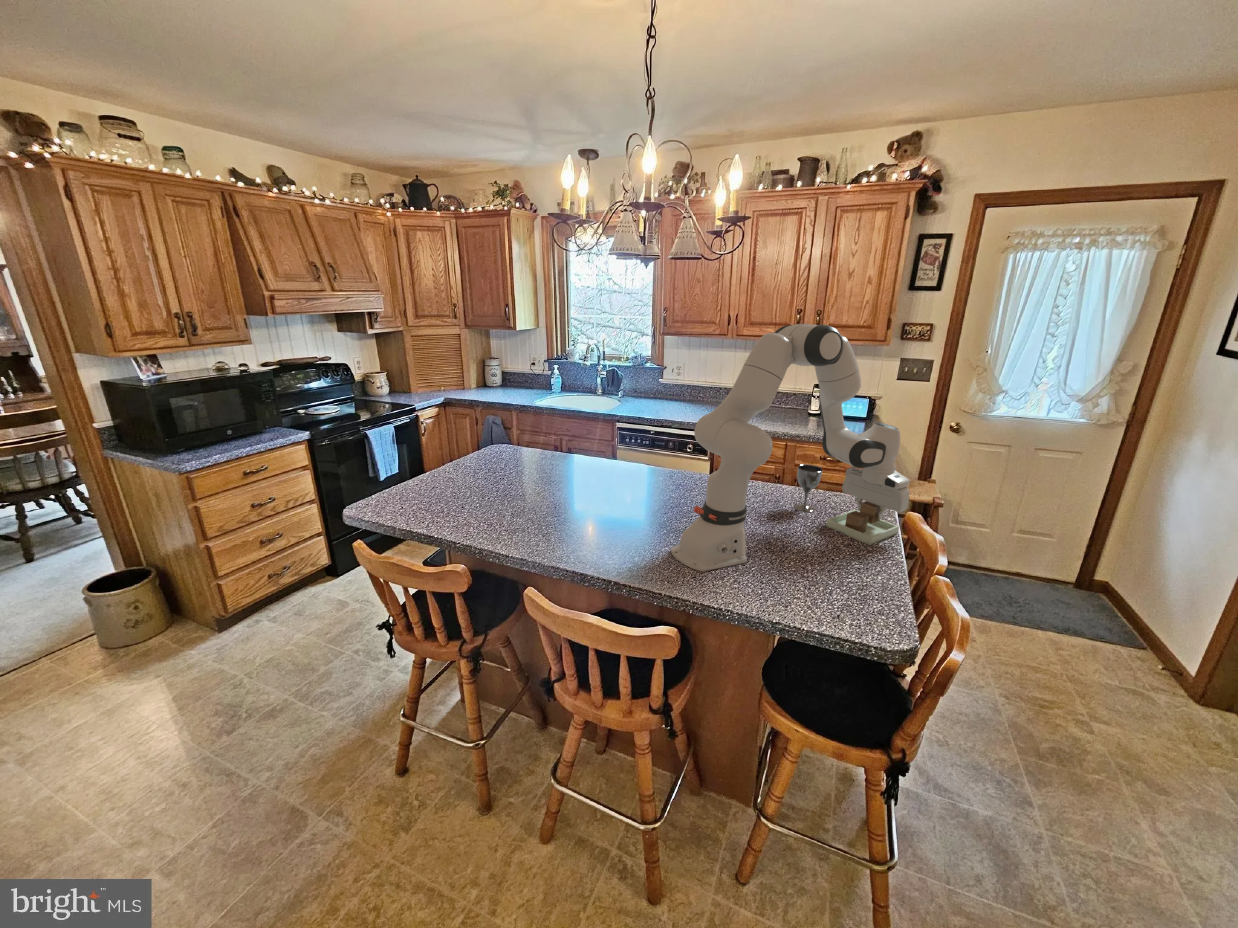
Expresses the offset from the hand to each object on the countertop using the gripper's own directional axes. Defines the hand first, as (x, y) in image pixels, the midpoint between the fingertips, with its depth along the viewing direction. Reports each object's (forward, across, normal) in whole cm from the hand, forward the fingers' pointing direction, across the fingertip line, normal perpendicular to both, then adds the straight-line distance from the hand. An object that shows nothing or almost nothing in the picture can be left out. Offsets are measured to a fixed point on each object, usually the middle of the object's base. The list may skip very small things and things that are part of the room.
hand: (869, 514), depth 160 cm
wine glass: (+5, -21, -4) cm, 22 cm away
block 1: (+4, 0, -7) cm, 8 cm away
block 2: (+2, 0, 0) cm, 2 cm away
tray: (+4, 0, -4) cm, 6 cm away
